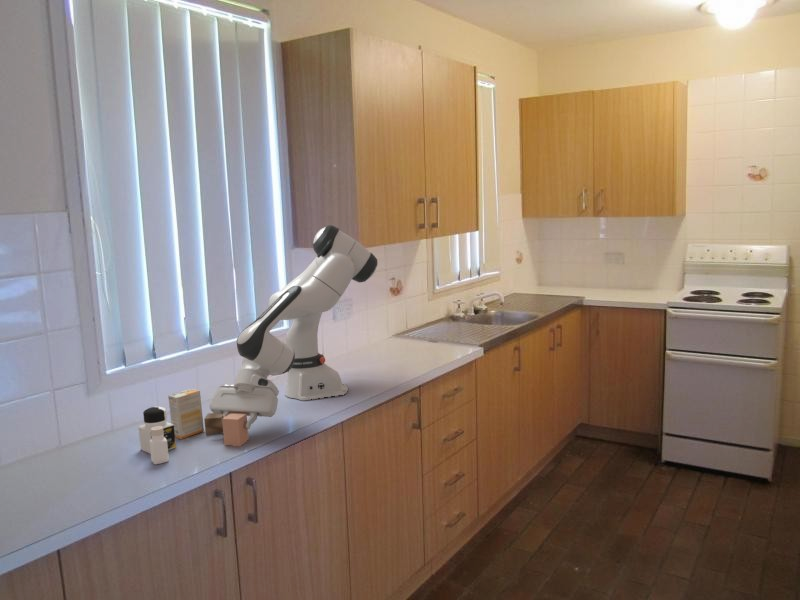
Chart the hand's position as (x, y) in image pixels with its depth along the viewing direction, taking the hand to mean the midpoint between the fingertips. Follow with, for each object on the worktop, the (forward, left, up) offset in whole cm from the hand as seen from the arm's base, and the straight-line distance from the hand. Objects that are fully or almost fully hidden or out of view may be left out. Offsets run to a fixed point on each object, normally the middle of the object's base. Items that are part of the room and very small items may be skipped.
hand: (236, 427), depth 188 cm
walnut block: (+8, -12, -4) cm, 15 cm away
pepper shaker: (+19, +10, -5) cm, 22 cm away
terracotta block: (0, 0, -4) cm, 4 cm away
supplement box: (+16, -11, -5) cm, 20 cm away
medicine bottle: (+22, 0, -5) cm, 23 cm away
